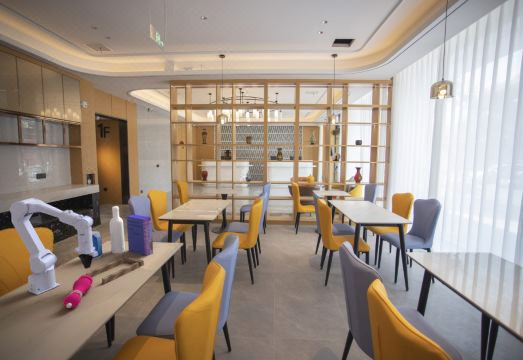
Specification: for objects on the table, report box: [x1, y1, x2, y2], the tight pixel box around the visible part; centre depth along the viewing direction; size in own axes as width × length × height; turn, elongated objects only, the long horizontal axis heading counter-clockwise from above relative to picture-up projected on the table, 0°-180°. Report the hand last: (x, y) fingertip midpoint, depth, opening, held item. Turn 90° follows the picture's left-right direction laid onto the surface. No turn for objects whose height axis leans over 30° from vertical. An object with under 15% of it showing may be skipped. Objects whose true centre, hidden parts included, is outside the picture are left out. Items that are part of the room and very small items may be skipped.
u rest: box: [85, 255, 145, 285], centre depth 140 cm, size 24×15×2 cm, turn 155°
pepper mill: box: [63, 274, 94, 309], centre depth 113 cm, size 7×7×20 cm
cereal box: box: [126, 214, 154, 257], centre depth 165 cm, size 17×5×24 cm, turn 64°
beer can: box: [92, 230, 103, 261], centre depth 157 cm, size 8×8×16 cm
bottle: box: [109, 205, 126, 254], centre depth 166 cm, size 8×8×30 cm
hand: (87, 267), depth 126 cm, fingers closed
